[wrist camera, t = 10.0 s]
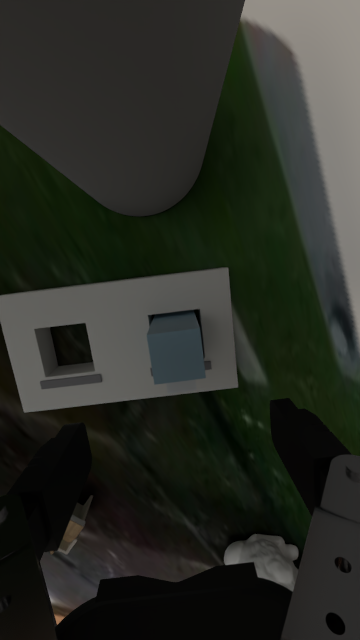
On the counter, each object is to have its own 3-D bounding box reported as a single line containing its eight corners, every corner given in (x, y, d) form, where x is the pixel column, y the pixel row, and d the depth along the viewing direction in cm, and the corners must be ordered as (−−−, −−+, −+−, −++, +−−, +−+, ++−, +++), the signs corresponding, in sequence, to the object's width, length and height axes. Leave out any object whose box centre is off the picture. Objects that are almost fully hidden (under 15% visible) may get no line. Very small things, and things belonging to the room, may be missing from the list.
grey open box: (52, 456, 33) (14, 516, 25) (101, 482, 34) (79, 549, 26) (37, 479, 33) (-6, 545, 26) (85, 505, 34) (58, 577, 26)
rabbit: (317, 545, 36) (387, 684, 24) (284, 596, 37) (334, 749, 26) (233, 516, 34) (263, 647, 23) (204, 570, 36) (217, 718, 24)
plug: (155, 313, 29) (146, 335, 20) (192, 308, 29) (199, 328, 20) (162, 360, 30) (157, 401, 21) (198, 356, 30) (207, 394, 21)
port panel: (12, 293, 28) (-9, 297, 25) (222, 267, 28) (228, 267, 25) (38, 398, 31) (22, 414, 28) (232, 375, 31) (238, 388, 27)
